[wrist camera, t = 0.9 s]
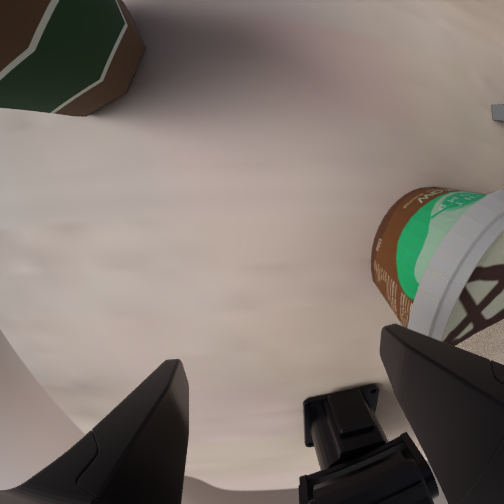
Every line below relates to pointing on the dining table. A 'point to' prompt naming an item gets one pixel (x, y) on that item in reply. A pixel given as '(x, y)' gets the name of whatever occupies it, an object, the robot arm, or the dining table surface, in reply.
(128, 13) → the beer bottle
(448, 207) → the food container
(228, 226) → the dining table surface
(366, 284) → the dining table surface
